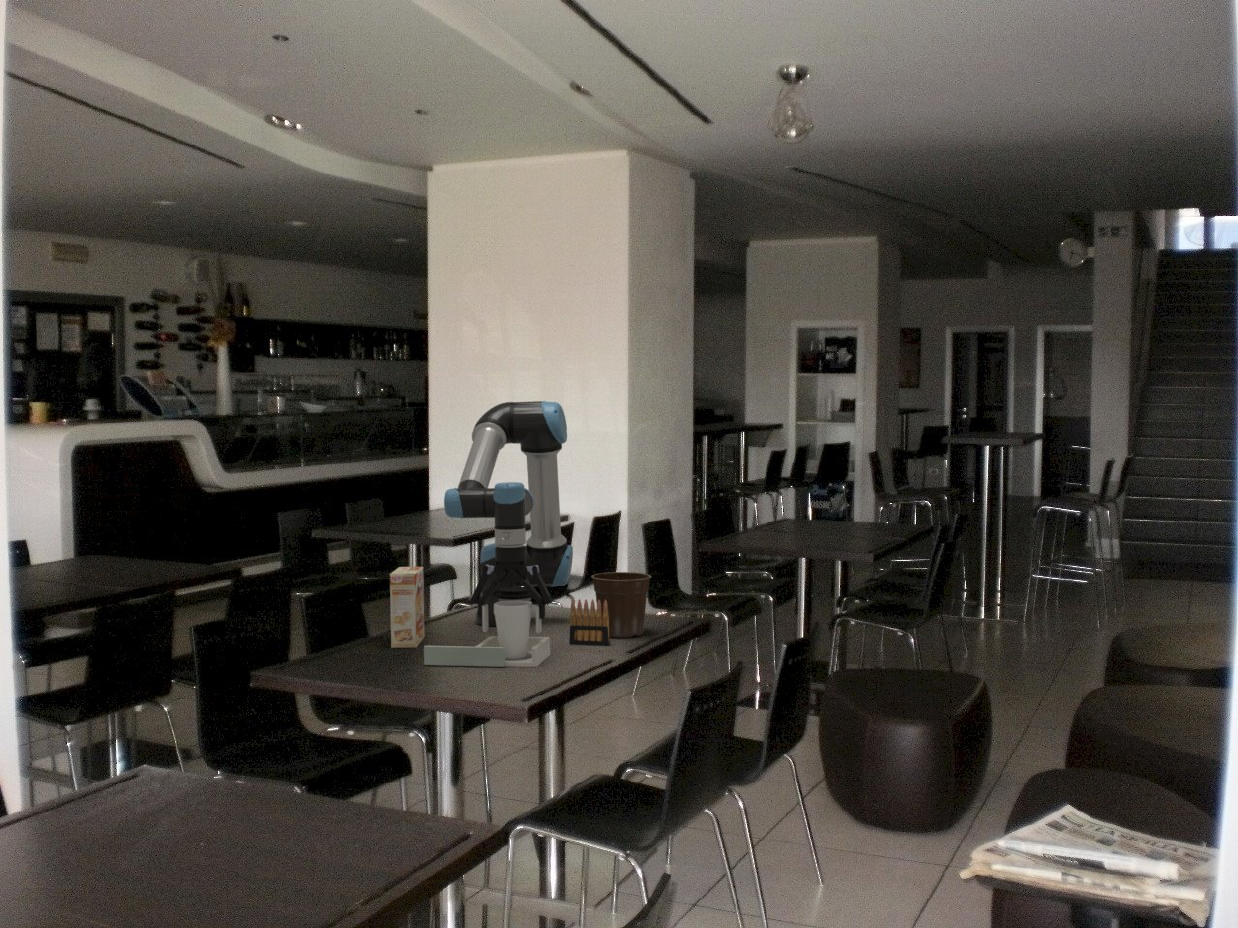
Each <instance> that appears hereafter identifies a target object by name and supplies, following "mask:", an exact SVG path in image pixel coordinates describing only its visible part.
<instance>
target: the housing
mask: <svg viewBox="0 0 1238 928" xmlns="http://www.w3.org/2000/svg"><path fill="white" fill-rule="evenodd" d="M475 647H499V640H498V635H494V636H493V635H491V636H489V637H487V638H485V639H484V640H483V641H481V642H480V643H479V644H477V645H475ZM549 656H551V637H550V636H529V637H528V646H527V654H526V657H523V658H515V659H508V658H505V666H504V667H516V668H517V667H521V668H522V667H523V668H525V667H527V668H537V667H538V666H540V665H541V664H542V663H543V662H544V661H545V660H546V659H548V658H549Z"/></svg>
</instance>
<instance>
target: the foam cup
mask: <svg viewBox="0 0 1238 928" xmlns="http://www.w3.org/2000/svg"><path fill="white" fill-rule="evenodd" d="M494 614H495V619H496V626H495V627H496V632H497V636H498V640H499V647H505V658H508V659H515V658H523V657H526V654H527V646H528V637H530V626H531V618H532V614H533V602H532V601H531V602H529V601H502V602H497V603H494Z"/></svg>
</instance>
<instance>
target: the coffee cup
mask: <svg viewBox="0 0 1238 928" xmlns="http://www.w3.org/2000/svg"><path fill="white" fill-rule="evenodd" d="M497 598H499V602H502V601H529V602H532V601H531V600H532V596H531V595H530V594H529V593H528V592H527V590H526V589H525V588H524V587H523V586H521V587H506V588H501V589H499V593H498V594H497Z"/></svg>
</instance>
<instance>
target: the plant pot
mask: <svg viewBox="0 0 1238 928" xmlns="http://www.w3.org/2000/svg"><path fill="white" fill-rule="evenodd" d="M591 579H592V583H593V590H594V592H595V601H596V604H597V603H598V600H600V603H601V610H602V625H603V605H604V601H605V600H606V601H607V605H608V615H609V630H610V638H614V639H624V638H632V637H640V636H642V635H643V634H644V632H645V631H644V630H645V628H644V627H645V618H646V605H647V595H648V591H649V587H650V580H651V579H652V575H650V574H647V573H643V572H630V571H629V572H628V571H627V572H626V571H612V572H600V573H594V574H593V575H591Z"/></svg>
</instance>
